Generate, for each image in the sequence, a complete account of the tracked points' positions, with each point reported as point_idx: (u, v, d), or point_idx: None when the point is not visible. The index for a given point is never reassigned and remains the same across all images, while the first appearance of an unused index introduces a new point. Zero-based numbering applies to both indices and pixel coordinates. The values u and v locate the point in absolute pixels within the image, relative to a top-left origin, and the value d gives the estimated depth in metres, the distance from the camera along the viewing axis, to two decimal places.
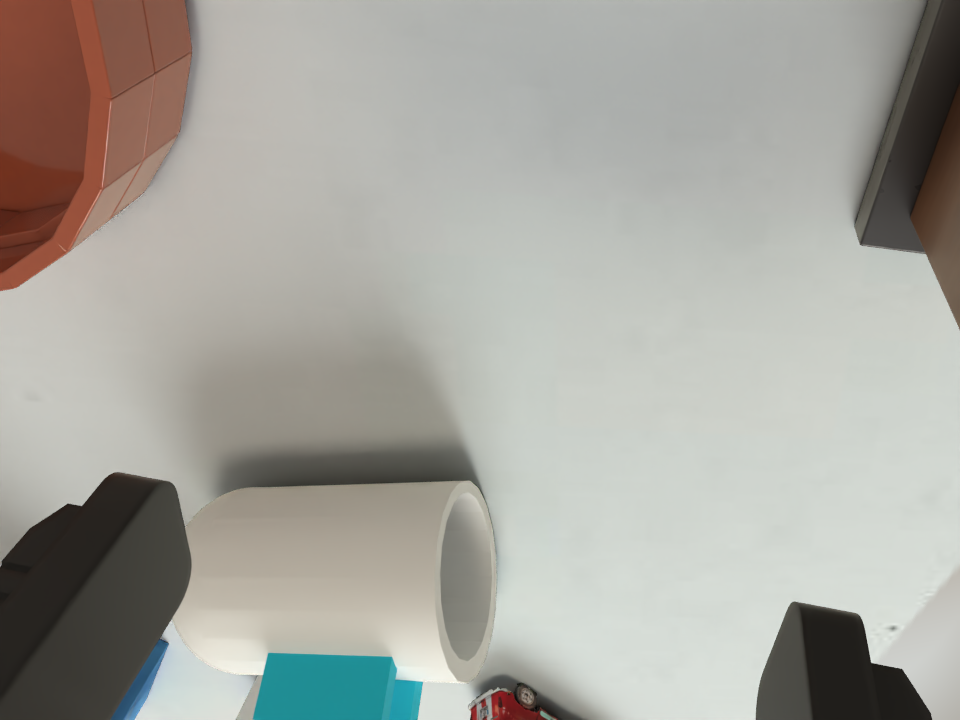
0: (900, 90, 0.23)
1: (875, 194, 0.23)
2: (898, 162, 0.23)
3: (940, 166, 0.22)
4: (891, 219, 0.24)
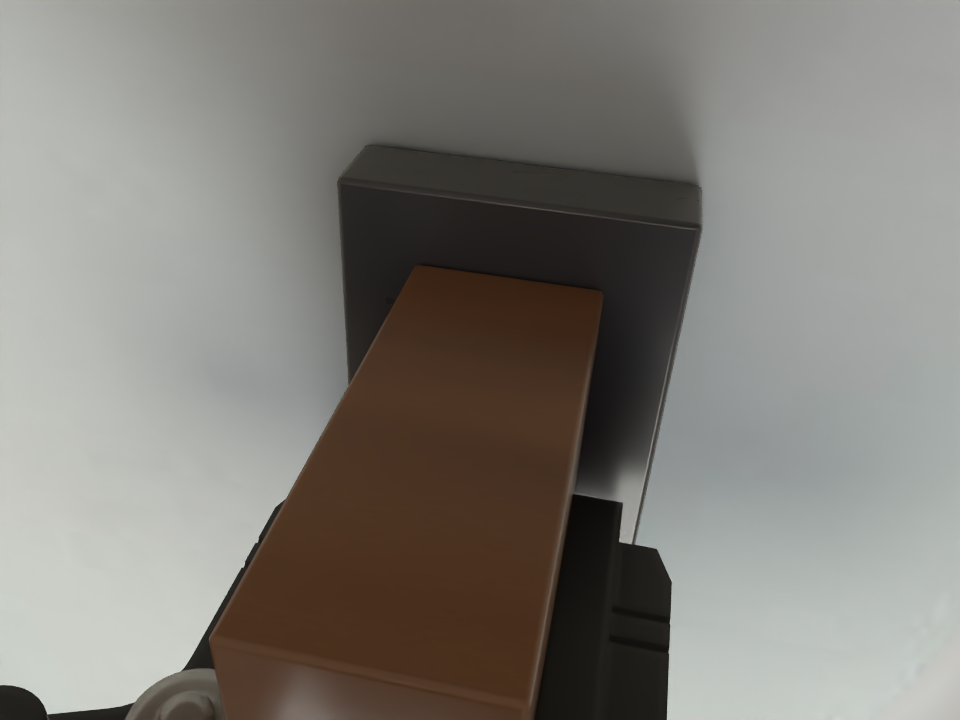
0: None
1: None
2: None
3: None
4: None
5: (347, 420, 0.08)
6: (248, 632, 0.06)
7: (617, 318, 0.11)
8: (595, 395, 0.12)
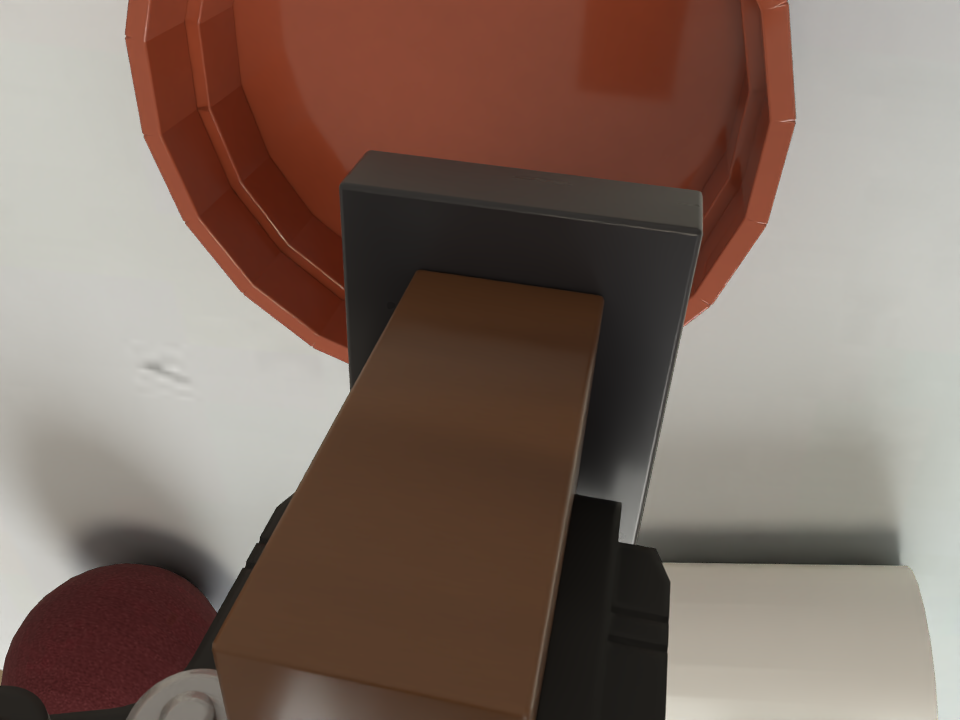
0: None
1: None
2: None
3: None
4: None
5: (349, 426, 0.08)
6: (250, 638, 0.06)
7: (618, 323, 0.11)
8: (596, 399, 0.12)
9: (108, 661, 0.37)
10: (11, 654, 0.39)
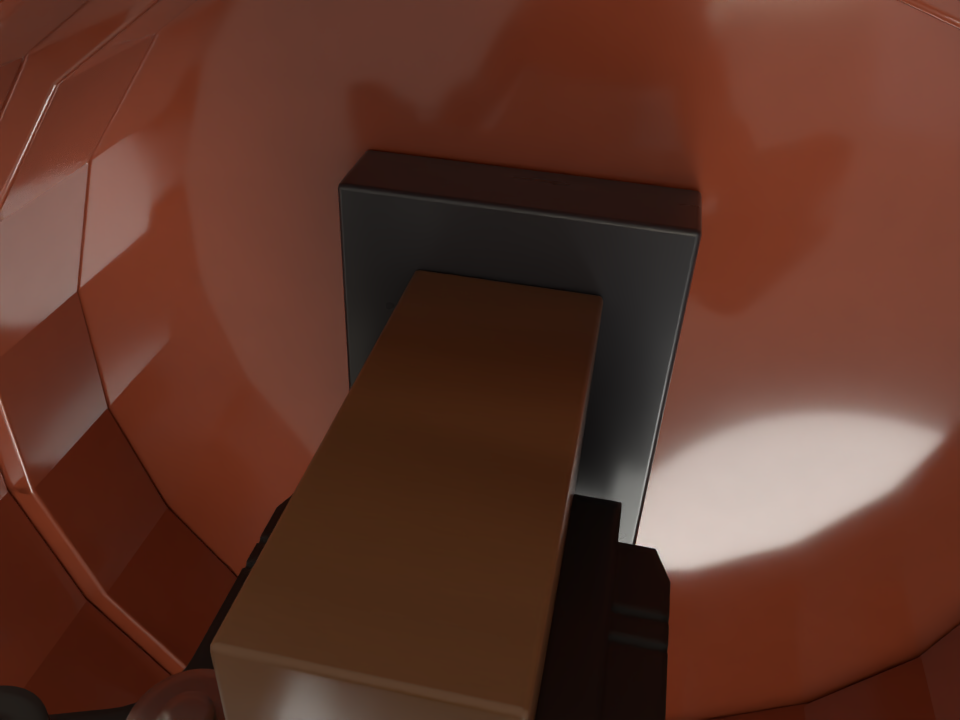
0: None
1: None
2: None
3: None
4: None
5: (347, 426, 0.08)
6: (248, 639, 0.06)
7: (616, 323, 0.11)
8: (596, 400, 0.12)
9: None
10: None
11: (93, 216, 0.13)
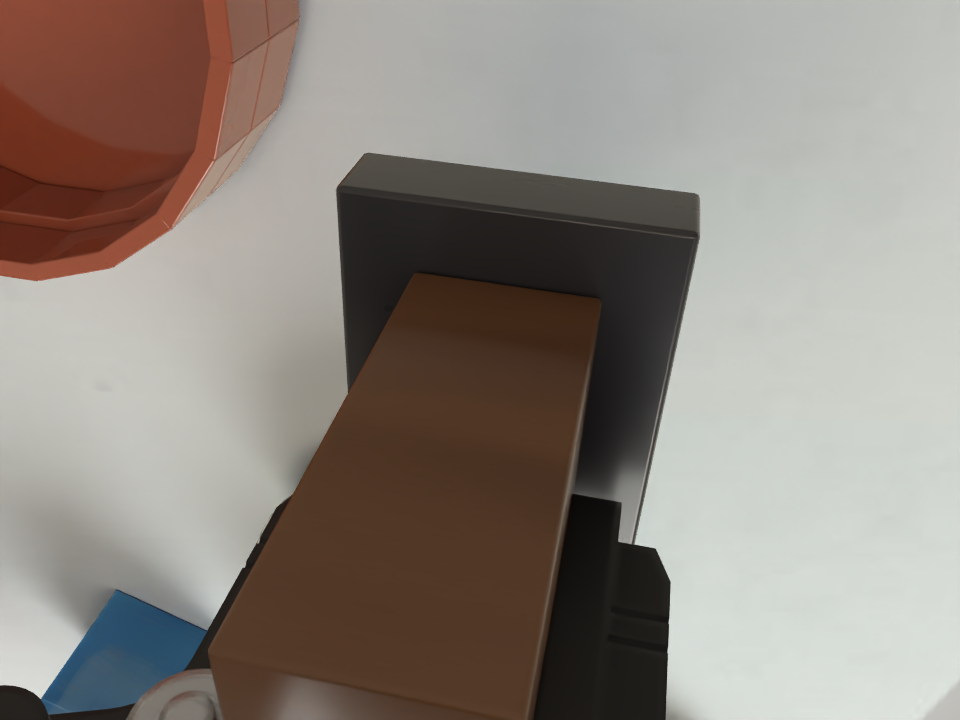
0: None
1: None
2: None
3: None
4: None
5: (346, 430, 0.08)
6: (247, 644, 0.06)
7: (615, 326, 0.11)
8: (594, 402, 0.12)
9: None
10: None
11: None
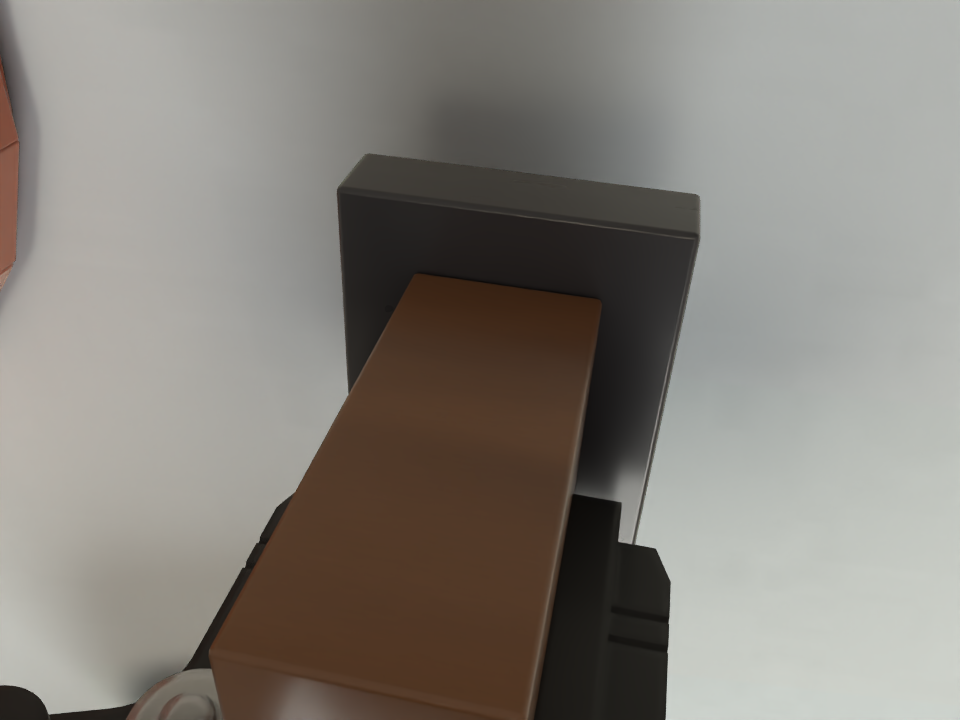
0: None
1: None
2: None
3: None
4: None
5: (346, 430, 0.08)
6: (247, 645, 0.06)
7: (616, 326, 0.11)
8: (595, 402, 0.12)
9: None
10: None
11: None
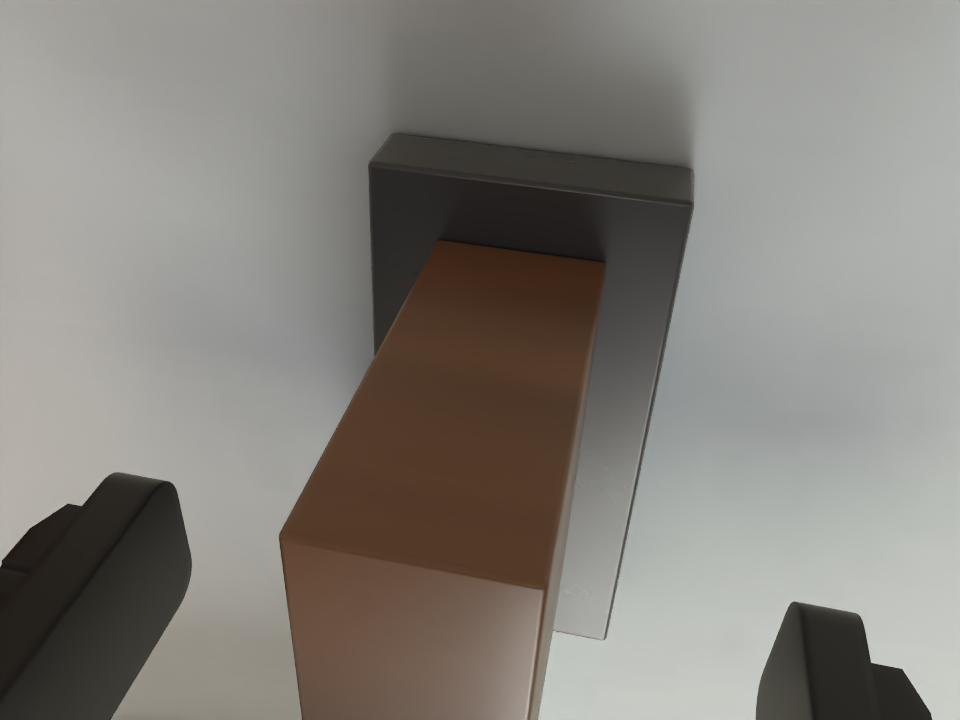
0: None
1: None
2: None
3: None
4: None
5: (384, 367, 0.10)
6: (310, 530, 0.08)
7: (618, 287, 0.12)
8: (599, 359, 0.13)
9: None
10: None
11: None
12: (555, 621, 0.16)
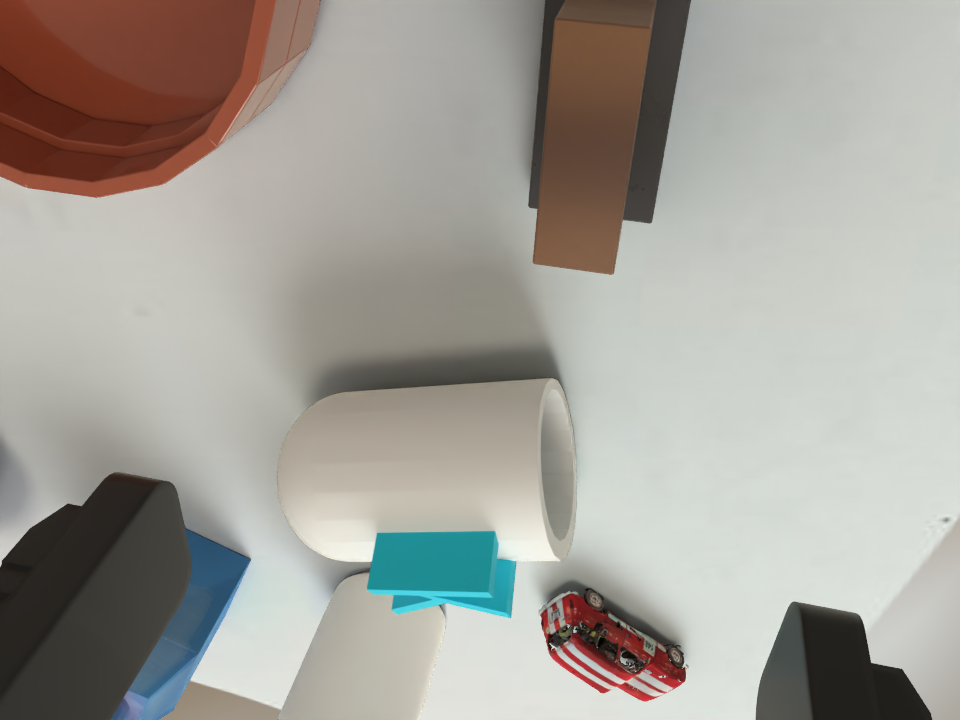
0: None
1: None
2: (540, 142, 0.30)
3: None
4: None
5: None
6: (566, 17, 0.22)
7: None
8: (654, 34, 0.27)
9: None
10: None
11: None
12: (624, 212, 0.30)
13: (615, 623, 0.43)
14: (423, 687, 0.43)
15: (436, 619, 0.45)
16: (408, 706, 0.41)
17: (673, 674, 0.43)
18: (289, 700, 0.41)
